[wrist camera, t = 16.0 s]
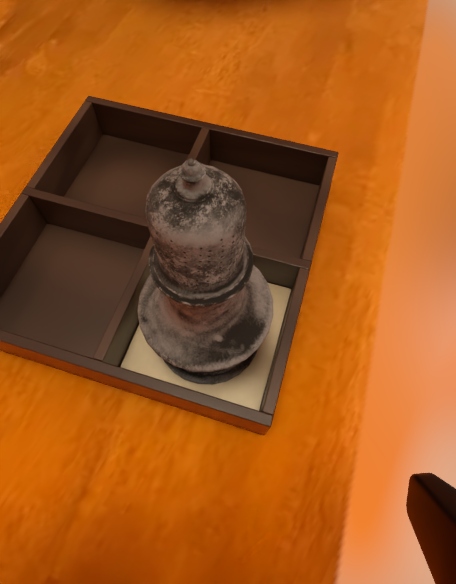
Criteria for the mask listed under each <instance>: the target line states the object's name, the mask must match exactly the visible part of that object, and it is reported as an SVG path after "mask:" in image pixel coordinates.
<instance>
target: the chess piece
mask: <svg viewBox="0 0 456 584" xmlns="http://www.w3.org/2000/svg"><path fill="white" fill-rule="evenodd" d="M145 214H146V220H147V224H148V228H149V231H150V235H151V238H152V241H153V245H152V248H151V250H150V254H149V260H148V264H149V270H150V276H149V277H148V278H147V279H146V282H145V284H144V286H143V288H142V290H141V293H140V296H139V303H138V309H137V312H138V319H139V326H140V329H141V331H142V333H143V335H144V337H145V340H146V342H147V343H148V345H149V346H150V347H151V348H152V349H153V350H154V351H155V353H156V354H157V355H158V356H159V357H161V358H162V359H163V360H164V362H165V363H166V364H167V366H168V367H169V368H170V369H171V370H172V371H173V372H174V373H175V374H177V375H178V376H180V377H181V378H183V379H184V380H187V381H190V382H194V383H197V384H211V385H213V384H217V383H222V382H226V381H228V380H230V379H232V378H234V377H236V376H238V375H239V374H241V373H242V372H243V371H244V370H245V369H246V368H247V367H248V366H249V365H250V363H251V362H252V360H253V358H254V357H255V355H256V353H257V349H258V348H259V347H260V346H261V344H262V342H263V341H264V339H265V338H266V336H267V334H268V333H269V329H270V326H271V322H272V319H273V297H272V294H271V291H270V288H269V284H268V283H267V281H266V279H265V278H264V276H263V275H262V273H261V272H260V270H259V269H257V268H256V267H255V266H254V265H253V252H252V249H251V246H250V243H249V242H248V240H247V239H246V237H245V225H246V202H245V198H244V195H243V192H242V189H241V188H240V186H239V185H238V184H237V182H236V181H235V180H234V179H233V178H231V177H230V176H229V175H228V174H226V173H225V172H223V171H221V170H219V169H217V168H215V167H213V166H208V165H204V164H201V163H199V162H198V161H197V160H195V159H193V158H190V159H188V160H187V161H185V162H184V163H183V164H182V165H181V166H179V167H176V168H173V169H171V170H169V171H168V172H166V173H165V174H163V175H162V176H161V177H160V178H159V179H158V180H157V181H156V182H155V183H154V184H153V185H152V186H151V188H150V190H149V192H148V194H147V199H146V205H145Z"/></svg>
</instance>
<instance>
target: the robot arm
mask: <svg viewBox="0 0 456 584" xmlns="http://www.w3.org/2000/svg"><path fill="white" fill-rule="evenodd" d="M406 506H407V513H408V517H409V519H410V521H411V524H412V526H413V529H414V531H415V534H416V537H417V539H418V542H419V544H420V546H421V549H422V551H423V554H424V556H425V559H426V561H427V564H428V566H429V569H430V571H431V574H432V576H433V579H434V581H435V584H456V489H455V488H454V487H452V486H451V485H449V484H448V483H446V482H445V481H443V480H442V479H440V478H439V477H437V476H436V475H434V474H432V473H420V474H413V475H412V476H411V477H410V480H409V488H408V496H407V504H406Z"/></svg>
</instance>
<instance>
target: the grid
mask: <svg viewBox="0 0 456 584" xmlns="http://www.w3.org/2000/svg"><path fill="white" fill-rule="evenodd" d="M337 157H338V152H335V151H331V150H326V149H322V148H317V147H313V146H308V145H304V144H300V143H295V142H291V141H286V140H282V139H277V138H273V137H269V136H264V135H260V134H255V133H251V132H246V131H242V130H237V129H233V128H229V127H224V126H220V125H215V124H211V123H206V122H202V121H198V120H193V119H189V118H184V117H180V116H175V115H171V114H167V113H162V112H158V111H153V110H149V109H144V108H140V107H136V106H131V105H127V104H122V103H118V102H113V101H109V100H105V99H100V98H96V97H91V96H88V97H87V99H86V100H85V102H84V103H83V104H82V106H81V107H80V109H79V110H78V112H77V113H76V115H75V116H74V117H73V119H72V120H71V122H70V123H69V125H68V126H67V128H66V129H65V130H64V132H63V133H62V135H61V136H60V138H59V139H58V141H57V142H56V144H55V145H54V146H53V148H52V149H51V151H50V152H49V154H48V155H47V157H46V158H45V159H44V161H43V162H42V164H41V165H40V167H39V168H38V170H37V171H36V172H35V174H34V175H33V177H32V178H31V180H30V181H29V183H28V184H27V186H26V187H25V188H24V190H23V191H22V193H21V194H20V196H19V197H18V199H17V200H16V201H15V203H14V204H13V206H12V207H11V209H10V210H9V212H8V213H7V214H6V216H5V217H4V219H3V220H2V222H1V223H0V350H1V351H4V352H7V353H10V354H13V355H17V356H20V357H23V358H26V359H29V360H32V361H35V362H38V363H41V364H44V365H48V366H51V367H54V368H57V369H60V370H63V371H66V372H69V373H72V374H75V375H79V376H82V377H85V378H88V379H91V380H94V381H97V382H100V383H103V384H106V385H110V386H113V387H116V388H119V389H122V390H125V391H128V392H131V393H134V394H137V395H140V396H144V397H147V398H150V399H153V400H156V401H159V402H162V403H165V404H168V405H171V406H175V407H178V408H181V409H184V410H187V411H190V412H193V413H196V414H199V415H202V416H206V417H209V418H212V419H215V420H218V421H221V422H224V423H227V424H230V425H233V426H237V427H240V428H243V429H246V430H249V431H252V432H255V433H258V434H261V435H265V433H266V432H267V430H268V429H269V428H270V427H271V424H272V420H273V415H274V412H275V408H276V403H277V399H278V395H279V391H280V387H281V383H282V379H283V375H284V371H285V367H286V363H287V359H288V355H289V351H290V347H291V343H292V339H293V335H294V331H295V327H296V323H297V319H298V315H299V311H300V307H301V302H302V298H303V294H304V290H305V286H306V282H307V278H308V274H309V270H310V266H311V262H312V258H313V254H314V250H315V246H316V242H317V238H318V234H319V230H320V226H321V222H322V218H323V214H324V210H325V206H326V202H327V197H328V193H329V189H330V185H331V181H332V177H333V173H334V169H335V165H336V161H337ZM190 158H193V159H195V160H197V161H198V162H199V163H201V164H204V165H208V166H213V167H215V168H217V169H219V170H221V171H223V172H225V173H226V174H228V175H229V176H230V177H231V178H233V179H234V180H235V181H236V182H237V184H238V185H239V186H240V188H241V189H242V192H243V195H244V198H245V202H246V225H245V237H246V239H247V240H248V242H249V243H250V246H251V249H252V252H253V265H254V266H255V267H256V268H257V269H259V270H260V272H261V273H262V275H263V276H264V278H265V279H266V281H267V283H268V284H269V288H270V291H271V294H272V297H273V319H272V322H271V326H270V329H269V333H268V334H267V336H266V338H265V339H264V341H263V342H262V344H261V346H260V347H259V348H258V349H257V353H256V355H255V357H254V358H253V360H252V362H251V363H250V365H249V366H248V367H247V368H246V369H245V370H244V371H243V372H242V373H241V374H239V375H238V376H236V377H234V378H232V379H230V380H228V381H226V382H222V383H217V384H213V385H211V384H197V383H194V382H190V381H187V380H184V379H183V378H181V377H180V376H178V375H177V374H175V373H174V372H173V371H172V370H171V369H170V368H169V367H168V366H167V364H166V363H165V362H164V360H163V359H162V358H161V357H159V356H158V355H157V354H156V353H155V351H154V350H153V349H152V348H151V347H150V346H149V345H148V343H147V342H146V340H145V337H144V335H143V333H142V331H141V329H140V326H139V319H138V312H137V309H138V303H139V296H140V293H141V290H142V288H143V286H144V284H145V282H146V279H147V278H148V277H149V276H150V270H149V264H148V260H149V254H150V250H151V248H152V245H153V241H152V238H151V235H150V231H149V228H148V224H147V220H146V214H145V205H146V199H147V194H148V192H149V190H150V188H151V186H152V185H153V184H154V183H155V182H156V181H157V180H158V179H159V178H160V177H161V176H162V175H163V174H165V173H166V172H168V171H169V170H171V169H173V168H176V167H179V166H181V165H182V164H183V163H184V162H185V161H187V160H188V159H190Z"/></svg>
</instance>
